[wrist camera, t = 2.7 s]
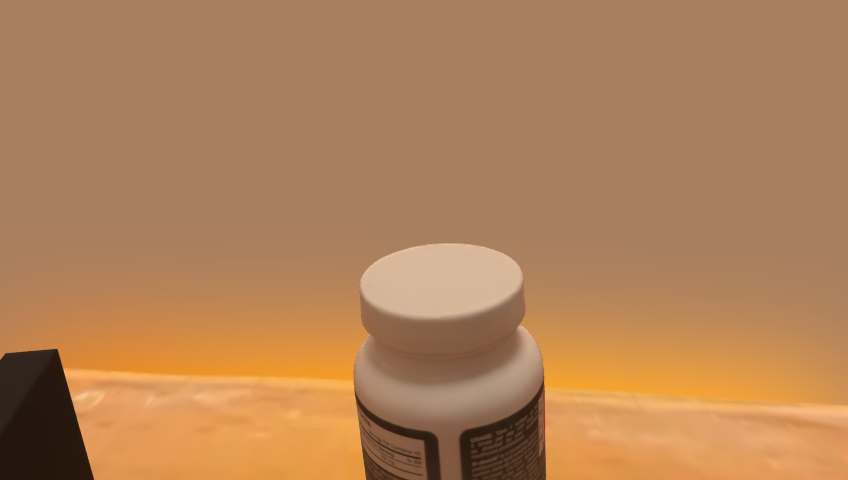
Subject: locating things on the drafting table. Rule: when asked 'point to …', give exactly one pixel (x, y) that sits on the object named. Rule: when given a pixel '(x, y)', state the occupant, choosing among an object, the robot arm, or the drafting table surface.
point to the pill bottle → (448, 368)
